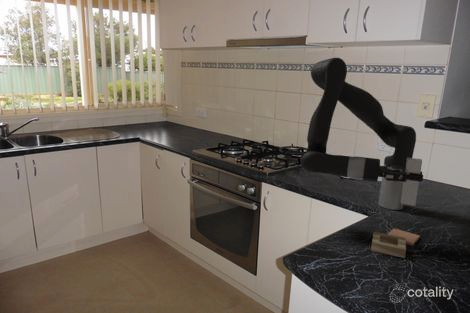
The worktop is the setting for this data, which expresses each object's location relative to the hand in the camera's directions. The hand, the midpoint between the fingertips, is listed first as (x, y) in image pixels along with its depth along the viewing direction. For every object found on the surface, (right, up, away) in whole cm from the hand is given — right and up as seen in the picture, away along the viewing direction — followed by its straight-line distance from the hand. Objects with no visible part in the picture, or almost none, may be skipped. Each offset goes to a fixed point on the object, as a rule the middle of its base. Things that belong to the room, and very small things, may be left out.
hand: (422, 176), depth 109 cm
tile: (-4, -20, +5) cm, 21 cm away
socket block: (-12, -21, -3) cm, 24 cm away
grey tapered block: (-3, -8, +3) cm, 9 cm away
